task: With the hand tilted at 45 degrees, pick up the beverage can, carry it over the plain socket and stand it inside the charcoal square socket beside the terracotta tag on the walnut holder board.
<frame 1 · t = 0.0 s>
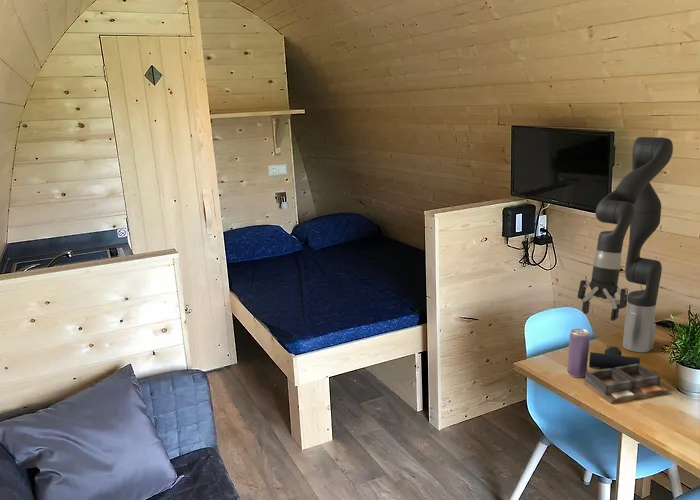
hand: (599, 316, 181), 22 cm above the table, tool pointing down, fingers open, 8 cm apart
pipe connector: (612, 365, 199), on the table
socket board: (624, 388, 183), on the table
beverage can: (576, 374, 193), on the table
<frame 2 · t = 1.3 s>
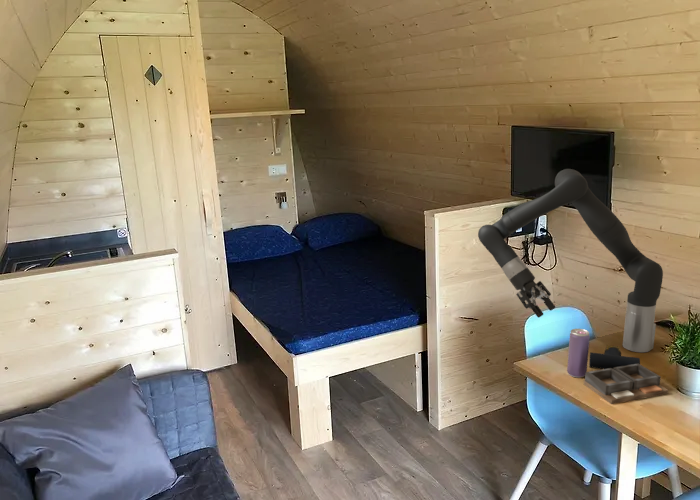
hand: (547, 312, 196), 19 cm above the table, tool tilted 45°, fingers open, 8 cm apart
nothing on the table moved.
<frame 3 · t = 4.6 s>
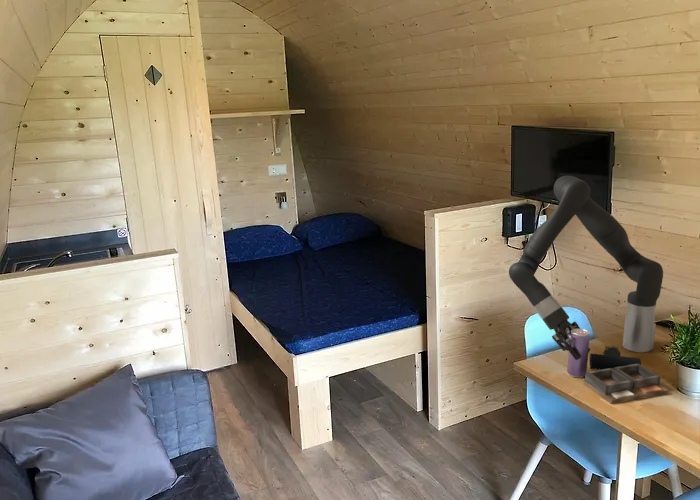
hand: (583, 355, 190), 7 cm above the table, tool tilted 45°, fingers closed on beverage can, 6 cm apart
beverage can: (576, 374, 193), on the table, touching gripper
everything else where it was.
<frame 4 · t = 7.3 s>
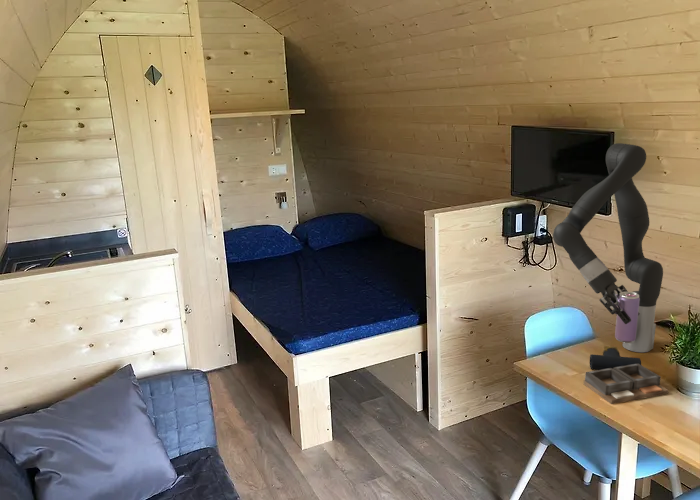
hand: (632, 319, 181), 22 cm above the table, tool tilted 45°, fingers closed on beverage can, 6 cm apart
beverage can: (624, 340, 184), point 14 cm above the table, touching gripper
everything else where it was.
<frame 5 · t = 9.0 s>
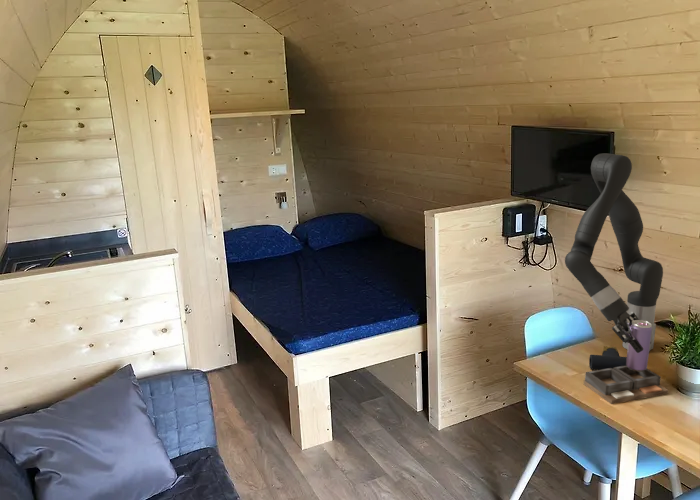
hand: (644, 348, 181), 13 cm above the table, tool tilted 45°, fingers closed on beverage can, 6 cm apart
beverage can: (635, 368, 184), point 5 cm above the table, touching gripper
when the fingers open (9 cm above the table, at t = 10.2 s): beverage can stays where it is, resting on socket board.
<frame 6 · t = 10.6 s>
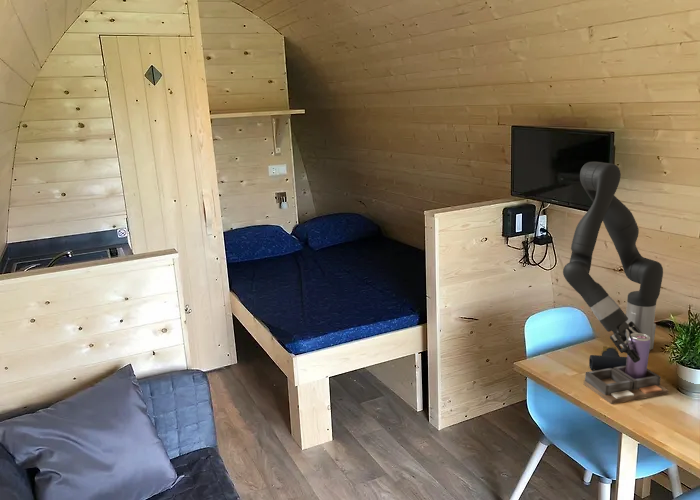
hand: (642, 356, 182), 10 cm above the table, tool tilted 45°, fingers open, 8 cm apart
beverage can: (634, 380, 185), point 1 cm above the table, touching socket board
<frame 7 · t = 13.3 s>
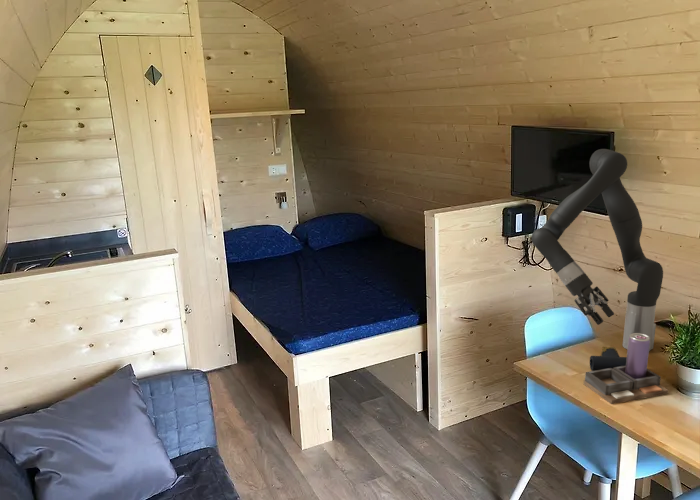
hand: (606, 319, 188), 19 cm above the table, tool tilted 45°, fingers open, 8 cm apart
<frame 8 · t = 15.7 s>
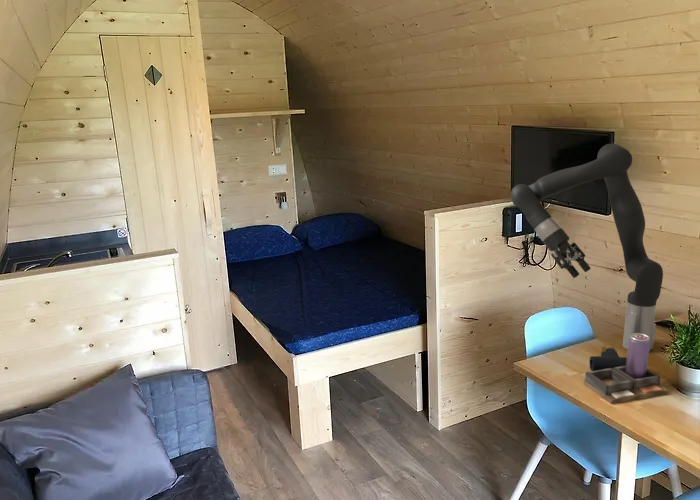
hand: (582, 273, 191), 33 cm above the table, tool tilted 45°, fingers open, 8 cm apart
at the end: beverage can 0.2 cm from the target spot on the socket board, point 1.0 cm above the socket board's base; beverage can tilted 0°; the gripper is holding nothing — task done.
